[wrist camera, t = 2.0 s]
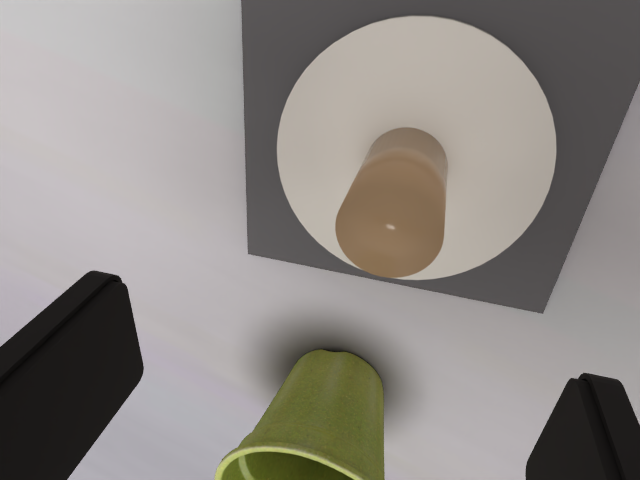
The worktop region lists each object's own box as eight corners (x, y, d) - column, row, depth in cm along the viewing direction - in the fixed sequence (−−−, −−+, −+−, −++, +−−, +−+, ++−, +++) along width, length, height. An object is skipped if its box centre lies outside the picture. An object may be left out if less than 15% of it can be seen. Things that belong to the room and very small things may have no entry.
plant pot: (324, 300, 27) (275, 421, 20) (442, 391, 28) (437, 536, 21) (246, 372, 32) (185, 489, 25) (349, 446, 33) (319, 579, 26)
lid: (598, 30, 17) (672, 62, 11) (507, 289, 23) (523, 398, 17) (286, 1, 19) (210, 15, 13) (281, 245, 25) (228, 328, 19)
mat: (695, -65, 15) (700, -65, 15) (541, 308, 23) (542, 313, 23) (242, -89, 18) (238, -90, 18) (250, 250, 26) (247, 253, 26)
